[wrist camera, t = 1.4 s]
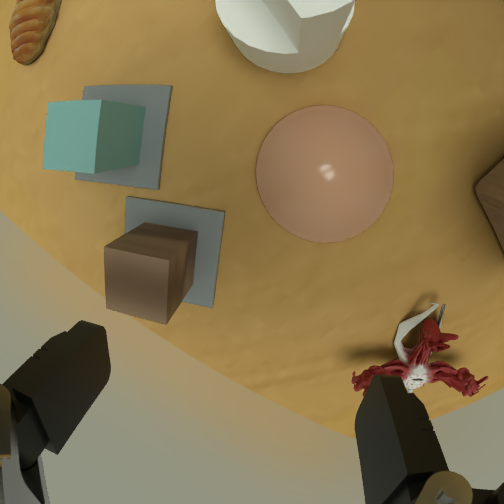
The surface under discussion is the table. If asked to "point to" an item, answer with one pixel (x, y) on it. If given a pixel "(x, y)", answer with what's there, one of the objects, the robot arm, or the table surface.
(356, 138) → the pink round disc
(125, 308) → the walnut block
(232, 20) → the cylinder with rectangular tab
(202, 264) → the code tile
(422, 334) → the figurine
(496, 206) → the block
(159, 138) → the code tile
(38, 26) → the pastry
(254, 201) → the table surface
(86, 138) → the teal block
